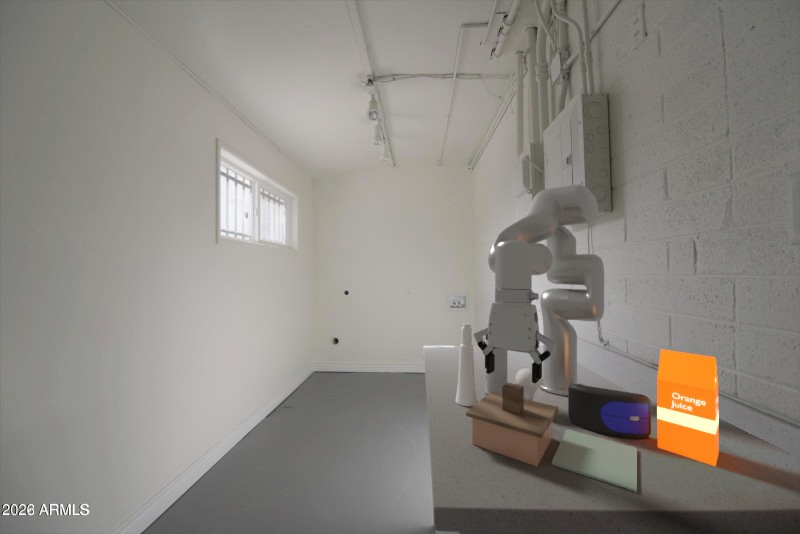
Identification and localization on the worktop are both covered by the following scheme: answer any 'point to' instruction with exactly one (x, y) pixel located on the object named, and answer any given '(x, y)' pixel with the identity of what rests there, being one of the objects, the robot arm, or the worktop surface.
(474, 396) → the cosmetic bottle
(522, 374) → the lightbulb
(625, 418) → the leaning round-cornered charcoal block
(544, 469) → the worktop surface
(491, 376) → the travel mug
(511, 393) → the lid
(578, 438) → the mat
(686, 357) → the orange juice
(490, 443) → the salmon open box
